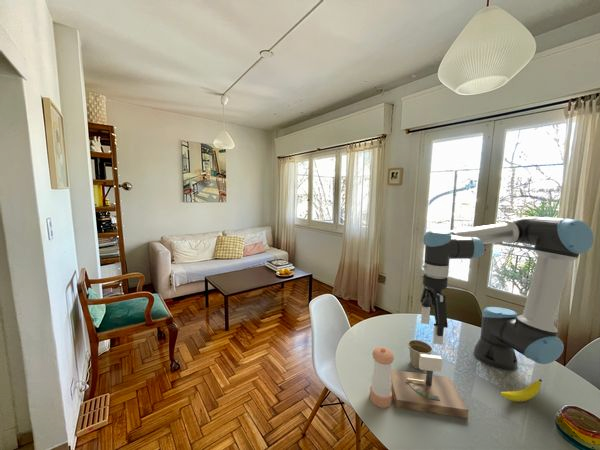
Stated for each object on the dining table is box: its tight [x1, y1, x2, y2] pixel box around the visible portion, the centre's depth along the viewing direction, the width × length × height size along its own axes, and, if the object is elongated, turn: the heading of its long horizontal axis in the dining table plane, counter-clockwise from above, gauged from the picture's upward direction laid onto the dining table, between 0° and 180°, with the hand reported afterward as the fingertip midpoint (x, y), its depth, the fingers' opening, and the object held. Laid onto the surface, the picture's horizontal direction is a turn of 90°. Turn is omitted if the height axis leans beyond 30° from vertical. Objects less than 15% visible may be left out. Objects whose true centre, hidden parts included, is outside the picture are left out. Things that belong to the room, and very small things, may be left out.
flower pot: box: [407, 339, 434, 370], centre depth 105 cm, size 9×9×9 cm
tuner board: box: [391, 369, 469, 419], centre depth 89 cm, size 22×15×3 cm
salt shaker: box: [369, 346, 395, 409], centre depth 86 cm, size 7×7×19 cm
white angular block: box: [407, 354, 443, 386], centre depth 90 cm, size 11×2×11 cm, turn 80°
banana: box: [500, 378, 543, 403], centre depth 87 cm, size 3×19×6 cm, turn 105°
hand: (430, 332), depth 89 cm, fingers open, 13 cm apart
